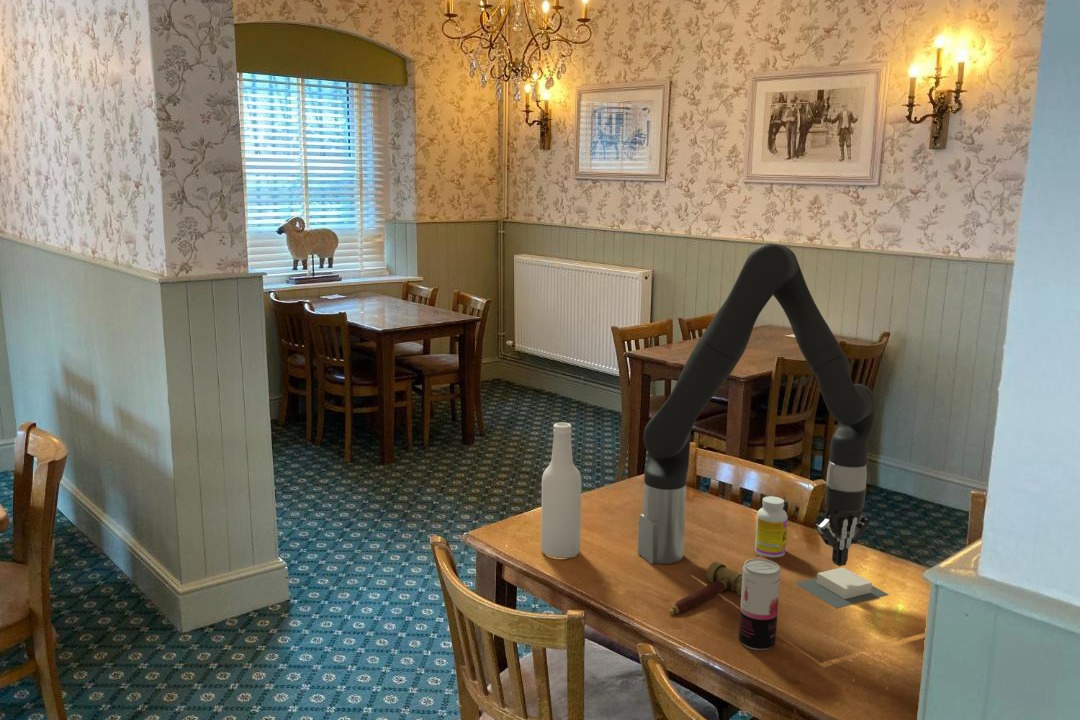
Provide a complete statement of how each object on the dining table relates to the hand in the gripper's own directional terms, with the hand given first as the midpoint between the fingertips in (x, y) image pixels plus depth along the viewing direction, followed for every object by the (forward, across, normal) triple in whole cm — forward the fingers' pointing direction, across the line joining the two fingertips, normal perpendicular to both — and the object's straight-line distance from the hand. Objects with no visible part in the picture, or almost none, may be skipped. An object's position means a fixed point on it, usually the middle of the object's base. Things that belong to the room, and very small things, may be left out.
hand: (839, 564), depth 181 cm
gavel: (+7, +27, -9) cm, 29 cm away
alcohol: (+6, +43, -41) cm, 60 cm away
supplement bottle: (+6, 0, -21) cm, 22 cm away
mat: (+6, -1, 0) cm, 6 cm away
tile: (+4, +2, 0) cm, 5 cm away
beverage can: (+6, +28, +9) cm, 30 cm away
